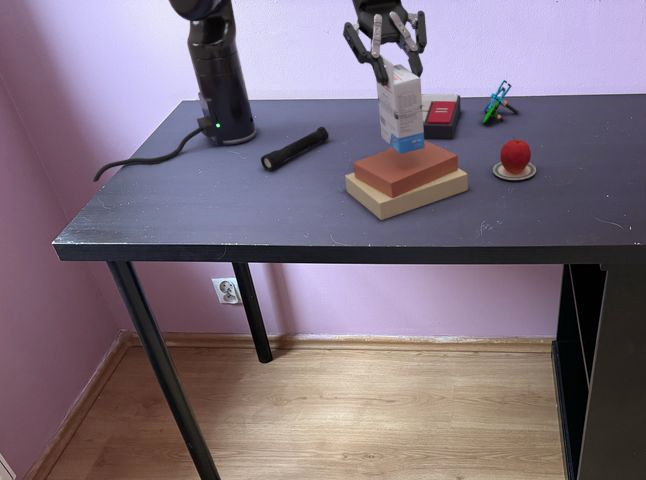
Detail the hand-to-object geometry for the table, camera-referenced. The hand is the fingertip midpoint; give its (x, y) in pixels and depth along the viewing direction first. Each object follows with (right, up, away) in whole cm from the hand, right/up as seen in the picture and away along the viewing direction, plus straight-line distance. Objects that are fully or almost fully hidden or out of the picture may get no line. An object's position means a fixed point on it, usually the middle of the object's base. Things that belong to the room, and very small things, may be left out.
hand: (401, 80), depth 105 cm
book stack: (0, -14, +14) cm, 20 cm away
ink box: (0, -7, +9) cm, 11 cm away
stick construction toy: (+20, +8, +39) cm, 44 cm away
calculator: (+5, +5, +37) cm, 38 cm away
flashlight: (-23, -4, +28) cm, 36 cm away
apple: (+20, -10, +18) cm, 29 cm away
